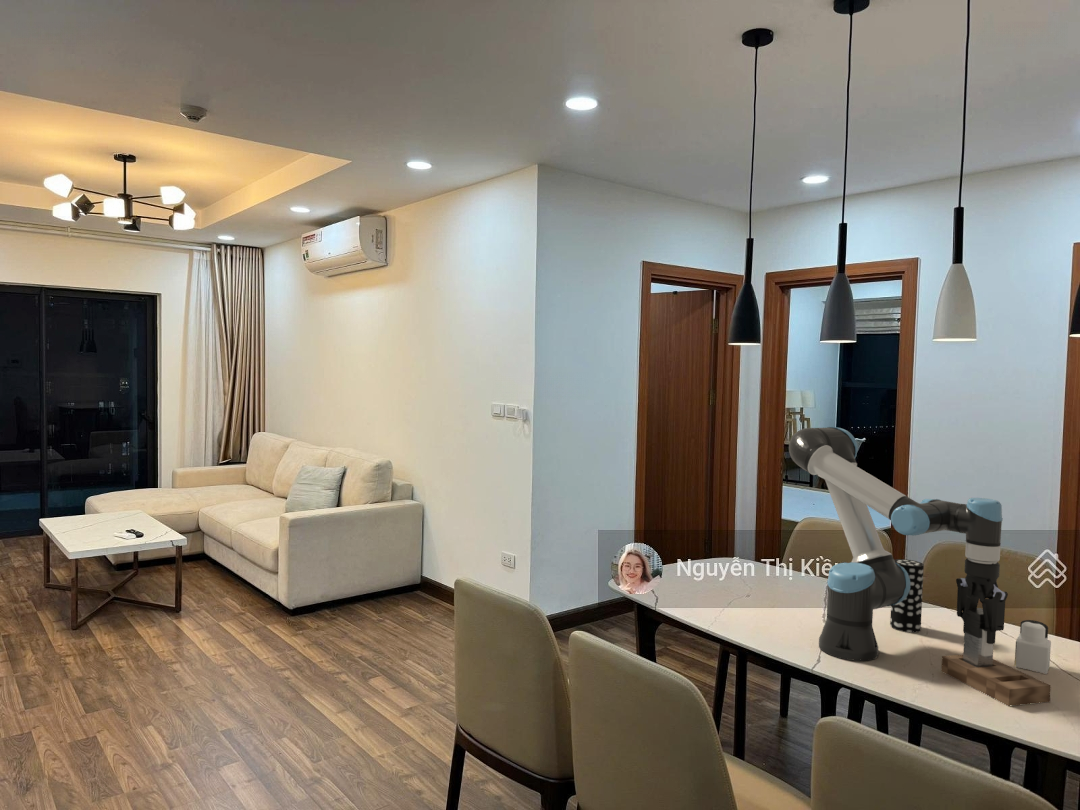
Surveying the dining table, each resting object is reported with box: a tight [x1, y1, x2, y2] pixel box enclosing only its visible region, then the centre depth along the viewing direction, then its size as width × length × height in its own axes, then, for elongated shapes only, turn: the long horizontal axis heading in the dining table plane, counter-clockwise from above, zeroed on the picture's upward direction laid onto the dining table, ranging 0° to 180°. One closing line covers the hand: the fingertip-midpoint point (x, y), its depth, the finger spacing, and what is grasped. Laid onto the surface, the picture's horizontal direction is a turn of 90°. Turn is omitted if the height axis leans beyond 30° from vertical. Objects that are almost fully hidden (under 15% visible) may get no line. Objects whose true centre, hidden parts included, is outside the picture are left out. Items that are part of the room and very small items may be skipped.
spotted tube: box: [889, 558, 925, 633], centre depth 218 cm, size 8×8×20 cm
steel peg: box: [962, 607, 994, 668], centre depth 182 cm, size 4×4×14 cm
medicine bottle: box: [1014, 619, 1052, 675], centre depth 191 cm, size 7×7×12 cm
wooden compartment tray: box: [940, 653, 1052, 707], centre depth 178 cm, size 12×20×4 cm, turn 14°
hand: (978, 651), depth 182 cm, fingers closed on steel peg, 4 cm apart
